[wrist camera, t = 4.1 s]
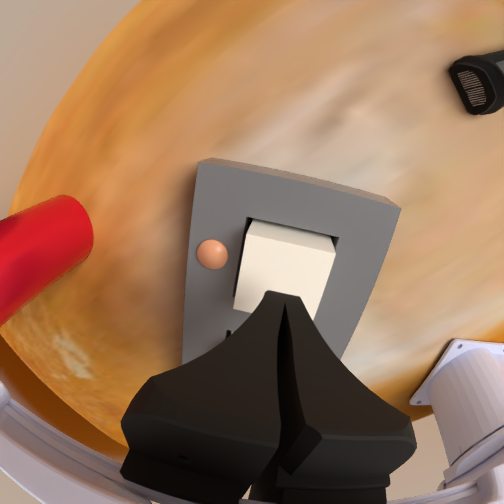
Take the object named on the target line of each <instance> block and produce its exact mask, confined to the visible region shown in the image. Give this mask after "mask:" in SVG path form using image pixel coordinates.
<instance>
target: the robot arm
mask: <svg viewBox="0 0 504 504" xmlns="http://www.w3.org/2000/svg"><path fill="white" fill-rule="evenodd" d="M409 402H410V405H431V406H432V409H433V412H434V415H435V418H436V421H437V424H438V427H439V430H440V434H441V437H442V440H443V444H444V447H445V451H446V454H447V458H448V462H449V466H450V467H449V468H448V469H446V470H445V471H444V472H443V473H444V478H445V480H444V481H442V482H441V483H440V485H439V487H438V489H437V492H433V493H428V494H424V495H419V496H415V497H409V498H404V499H398V500H392V501H387V499H386V489H385V488H386V487H388V486H389V485H390V477H389V474H391V473H392V472H393V471H395V470H396V469H397V468H399V467H400V466H401V465H402V464H404V463H405V462H406V461H407V460H408V459H409V458H410V457H411V456H412V455H413V454H414V452H415V450H416V448H417V443H416V439H415V434H414V430H413V427H412V423H411V420H410V417H409V416H407V415H405V414H404V413H402V412H401V411H399V410H397V409H396V408H394V407H393V406H391V405H390V404H388V403H386V402H385V401H384V400H382V399H381V398H380V397H379V396H377V395H376V394H375V393H373V392H372V391H371V390H370V389H368V388H367V387H366V386H365V385H364V384H363V383H362V382H361V381H359V380H358V379H357V378H356V377H355V376H354V375H353V374H352V373H351V372H350V371H349V370H348V369H347V368H346V367H345V365H344V364H343V363H342V362H341V361H340V360H339V358H338V357H337V356H336V355H335V354H334V352H333V351H332V350H331V349H330V347H329V346H328V344H327V343H326V341H325V340H324V339H323V337H322V336H321V334H320V332H319V331H318V329H317V327H316V326H315V324H314V322H313V320H312V319H311V317H310V315H309V313H308V311H307V309H306V307H305V305H304V303H303V301H302V299H301V298H300V297H299V296H295V295H290V294H285V293H280V292H276V291H271V290H267V291H266V292H265V293H264V296H263V298H262V300H261V302H260V303H259V305H258V306H257V307H256V309H255V310H254V311H253V312H252V314H251V315H250V316H249V317H248V318H247V319H246V321H245V322H244V323H243V324H242V325H241V326H240V327H239V328H238V329H237V330H236V331H234V332H233V333H232V334H231V335H230V336H229V337H227V338H226V339H225V340H224V341H222V342H221V343H220V344H218V345H217V346H215V347H214V348H212V349H211V350H209V351H208V352H206V353H205V354H203V355H201V356H199V357H197V358H195V359H193V360H191V361H189V362H187V363H186V364H184V365H181V366H179V367H177V368H174V369H172V370H169V371H166V372H164V373H161V374H158V375H155V376H152V377H150V378H149V379H148V380H147V382H146V383H145V384H144V385H143V386H142V387H141V389H140V390H139V391H138V393H137V394H136V395H135V396H134V398H133V399H132V401H131V403H130V404H129V406H128V408H127V410H126V412H125V414H124V416H123V418H122V420H121V428H122V431H123V433H124V436H125V438H126V441H127V443H128V446H129V448H130V450H129V452H128V454H127V456H126V458H125V460H124V463H123V464H122V463H120V462H117V461H115V460H113V459H111V458H109V457H106V456H104V455H102V454H100V453H98V452H96V451H94V450H92V449H90V448H88V447H86V446H84V445H83V444H81V443H79V442H77V441H75V440H74V439H72V438H70V437H68V436H67V435H65V434H63V433H61V432H60V431H58V430H57V429H55V428H54V427H52V426H50V425H48V424H47V423H46V422H44V421H43V420H41V419H40V418H38V417H37V416H35V415H34V414H33V413H31V412H30V411H28V410H27V409H26V408H24V407H23V406H22V405H20V404H19V403H17V402H16V401H15V400H14V399H12V398H11V395H10V393H9V392H8V390H7V388H6V387H5V386H4V384H3V383H2V382H1V381H0V469H1V470H2V471H3V472H4V473H5V474H6V475H8V476H9V477H10V478H11V479H12V480H13V481H15V482H16V483H17V484H18V485H19V486H20V487H22V488H23V489H24V490H25V491H27V492H28V493H29V494H31V495H32V496H33V497H34V498H36V499H37V500H39V501H40V502H41V503H43V504H152V503H151V501H154V502H157V503H160V504H504V343H494V342H483V341H472V340H463V339H454V340H453V341H452V342H451V343H450V344H449V346H448V348H447V349H446V351H445V352H444V354H443V355H442V357H441V358H440V360H439V361H438V363H437V364H436V366H435V367H434V368H433V370H432V371H431V373H430V374H429V376H428V377H427V378H426V380H425V381H424V382H423V384H422V385H421V386H420V388H419V389H418V390H417V391H416V393H415V394H414V395H413V397H412V398H411V399H410V401H409ZM251 484H252V485H251ZM250 486H251V490H250V494H249V498H248V500H247V499H242V497H243V496H244V494H245V493H246V491H247V490H248V489H249V487H250ZM145 498H146V499H145ZM150 500H151V501H150Z"/></svg>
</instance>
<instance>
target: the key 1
mask: <svg viewBox="0 0 504 504" xmlns="http://www.w3.org/2000/svg"><path fill="white" fill-rule="evenodd" d="M335 255H336V252H335V249H334V246H333V244H332V241H331V238H330V235H327V234H323V233H319V232H315V231H310V230H306V229H301V228H297V227H293V226H288V225H284V224H279V223H274V222H270V221H265V220H261V219H256V218H254V219H253V221H252V223H251V225H250V228H249V230H248V232H247V234H246V240H245V245H244V251H243V256H242V262H241V267H240V273H239V279H238V284H237V290H236V295H235V301H234V307H233V309H236V310H240V311H245V312H249V313H252V312H253V311H254V310H255V309H256V307H257V306H258V305H259V303H260V302H261V300H262V298H263V296H264V293H265V292H266V291H267V290H271V291H276V292H280V293H285V294H290V295H295V296H299V297H300V298H301V299H302V301H303V303H304V305H305V307H306V309H307V311H308V313H309V315H310V317H311V319H312V320H314V317H315V314H316V312H317V309H318V306H319V303H320V300H321V298H322V295H323V292H324V289H325V286H326V283H327V280H328V277H329V274H330V271H331V268H332V265H333V262H334V259H335Z"/></svg>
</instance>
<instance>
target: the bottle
mask: <svg viewBox="0 0 504 504" xmlns="http://www.w3.org/2000/svg"><path fill="white" fill-rule="evenodd" d="M92 246H93V230H92V225H91V222H90V219H89V217H88V215H87V212H86V211H85V209H84V208H83V206H82V205H81V204H80V203H79V202H78V201H77V200H75V199H74V198H72V197H70V196H67V195H59V196H56V197H54V198H51V199H49V200H46V201H44V202H41V203H39V204H37V205H34V206H32V207H29V208H27V209H25V210H23V211H20V212H18V213H16V214H14V215H11V216H9V217H7V218H5V219H3V220H1V221H0V327H1V326H2V325H4V324H5V323H6V322H7V321H8V320H9V319H10V318H11V317H13V316H14V315H15V314H16V313H17V312H18V311H20V310H21V309H22V308H23V307H24V306H25V305H27V304H28V303H29V302H30V301H31V300H33V299H34V298H35V297H36V296H38V295H39V294H40V293H41V292H43V291H44V290H45V289H46V288H48V287H49V286H50V285H51V284H53V283H54V282H55V281H57V280H58V279H59V278H60V277H62V276H63V275H64V274H66V273H67V272H68V271H70V270H71V269H72V268H74V267H75V266H76V265H78V264H79V263H81V262H82V261H83V260H85V259H86V258H87V257H88V256H89V254H90V252H91V249H92Z"/></svg>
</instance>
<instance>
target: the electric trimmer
mask: <svg viewBox="0 0 504 504" xmlns="http://www.w3.org/2000/svg"><path fill="white" fill-rule="evenodd" d="M449 74H450V76H451V78H452V80H453V82H454V84H455V86H456V88H457V90H458V92H459V94H460V96H461V98H462V101H463V103H464V105H465V107H466V109H467V111H468V112H469V113H470V114H473V115H478V114H480V115H485V114H491V113H494V112H496V111H498V110H499V109H501V108H502V107H503V106H504V50H503V51H498V52H494V53H489V54H485V55H474V56H465V57H462V58H460V59H459V60H457V61H455V62H454V64H453V66H451V67H450V69H449Z"/></svg>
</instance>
